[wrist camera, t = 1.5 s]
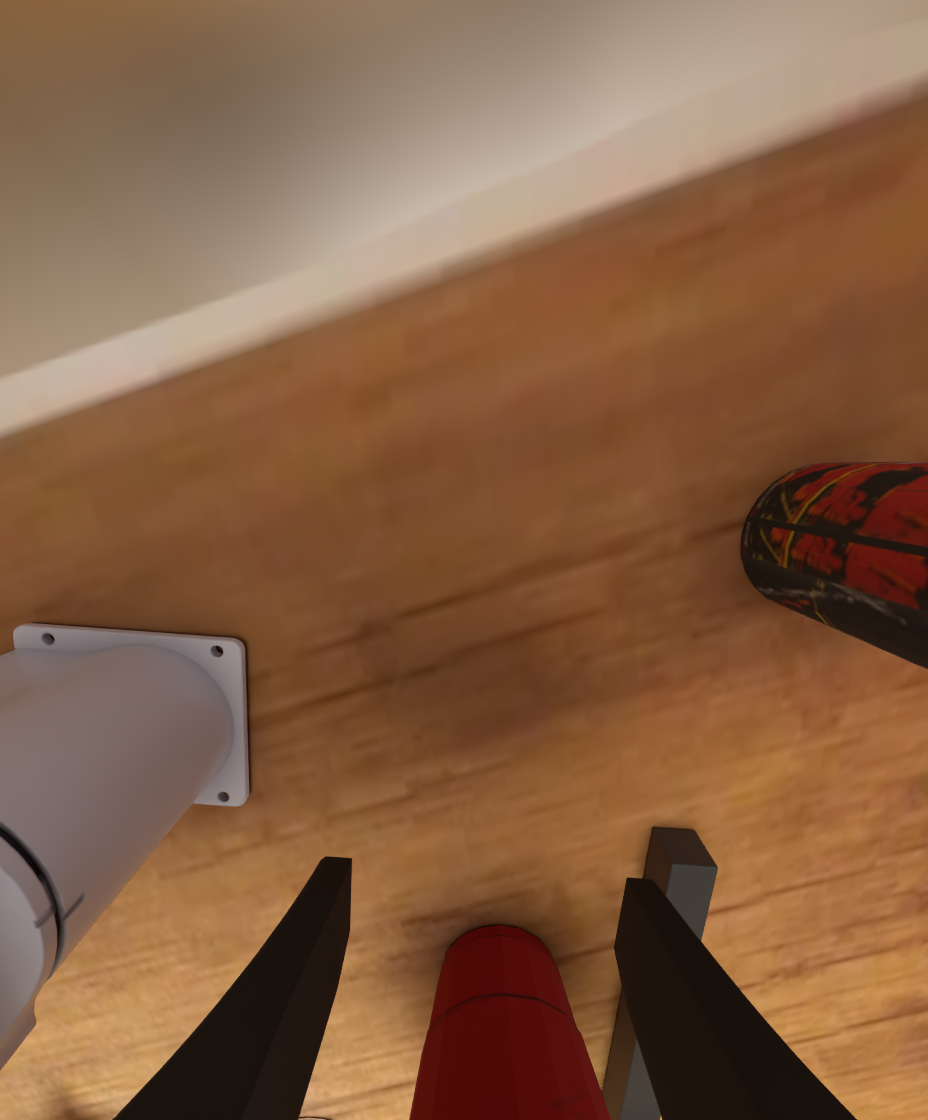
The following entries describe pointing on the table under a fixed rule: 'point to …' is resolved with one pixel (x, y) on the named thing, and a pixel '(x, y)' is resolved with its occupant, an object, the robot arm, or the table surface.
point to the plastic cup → (504, 1037)
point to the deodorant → (848, 550)
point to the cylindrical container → (310, 1119)
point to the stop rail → (627, 1085)
